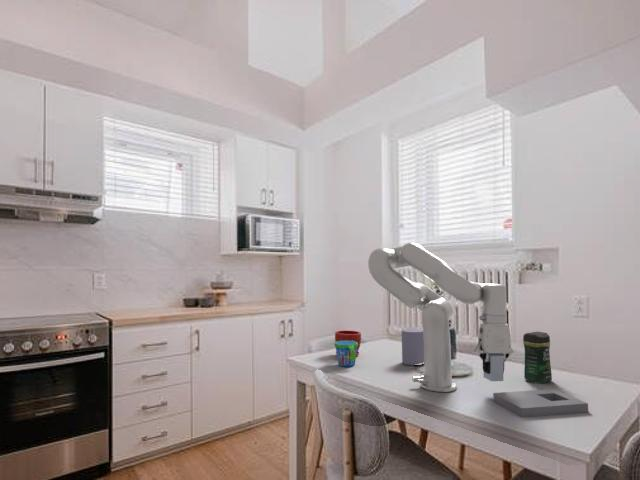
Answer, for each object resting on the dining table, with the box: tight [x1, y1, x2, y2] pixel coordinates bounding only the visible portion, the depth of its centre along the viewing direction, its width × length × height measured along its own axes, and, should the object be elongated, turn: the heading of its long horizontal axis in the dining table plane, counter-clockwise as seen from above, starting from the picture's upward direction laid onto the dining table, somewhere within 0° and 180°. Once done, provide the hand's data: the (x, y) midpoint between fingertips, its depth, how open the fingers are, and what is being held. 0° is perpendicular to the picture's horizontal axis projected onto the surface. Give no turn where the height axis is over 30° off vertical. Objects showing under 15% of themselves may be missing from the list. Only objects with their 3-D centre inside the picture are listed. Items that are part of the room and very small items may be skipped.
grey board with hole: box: [492, 388, 589, 418], centre depth 121 cm, size 22×14×2 cm, turn 99°
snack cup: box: [334, 340, 358, 368], centre depth 175 cm, size 16×10×10 cm
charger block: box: [483, 354, 505, 382], centre depth 133 cm, size 5×5×9 cm
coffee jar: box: [522, 331, 553, 384], centre depth 148 cm, size 10×8×19 cm
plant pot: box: [334, 330, 362, 357], centre depth 193 cm, size 13×13×12 cm
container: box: [401, 328, 424, 367], centre depth 177 cm, size 10×10×15 cm
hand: (493, 371), depth 133 cm, fingers closed on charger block, 4 cm apart
